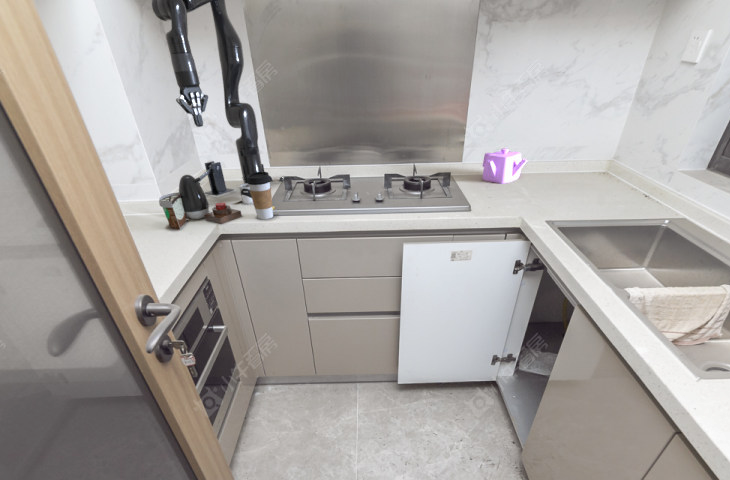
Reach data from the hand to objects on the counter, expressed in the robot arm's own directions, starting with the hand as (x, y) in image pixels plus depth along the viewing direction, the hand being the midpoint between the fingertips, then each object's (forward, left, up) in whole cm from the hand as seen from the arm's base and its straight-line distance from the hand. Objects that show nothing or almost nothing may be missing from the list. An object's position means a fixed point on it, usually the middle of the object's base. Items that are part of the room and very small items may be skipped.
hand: (199, 126), depth 158 cm
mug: (-9, +11, -29) cm, 32 cm away
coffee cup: (+3, +29, -29) cm, 41 cm away
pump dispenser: (+15, +6, -29) cm, 33 cm away
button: (+12, +16, -25) cm, 32 cm away
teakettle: (-86, +89, -29) cm, 127 cm away
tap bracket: (-11, -13, -28) cm, 33 cm away
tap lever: (-6, -13, -20) cm, 25 cm away
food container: (+26, +6, -29) cm, 39 cm away
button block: (+12, +16, -28) cm, 35 cm away
